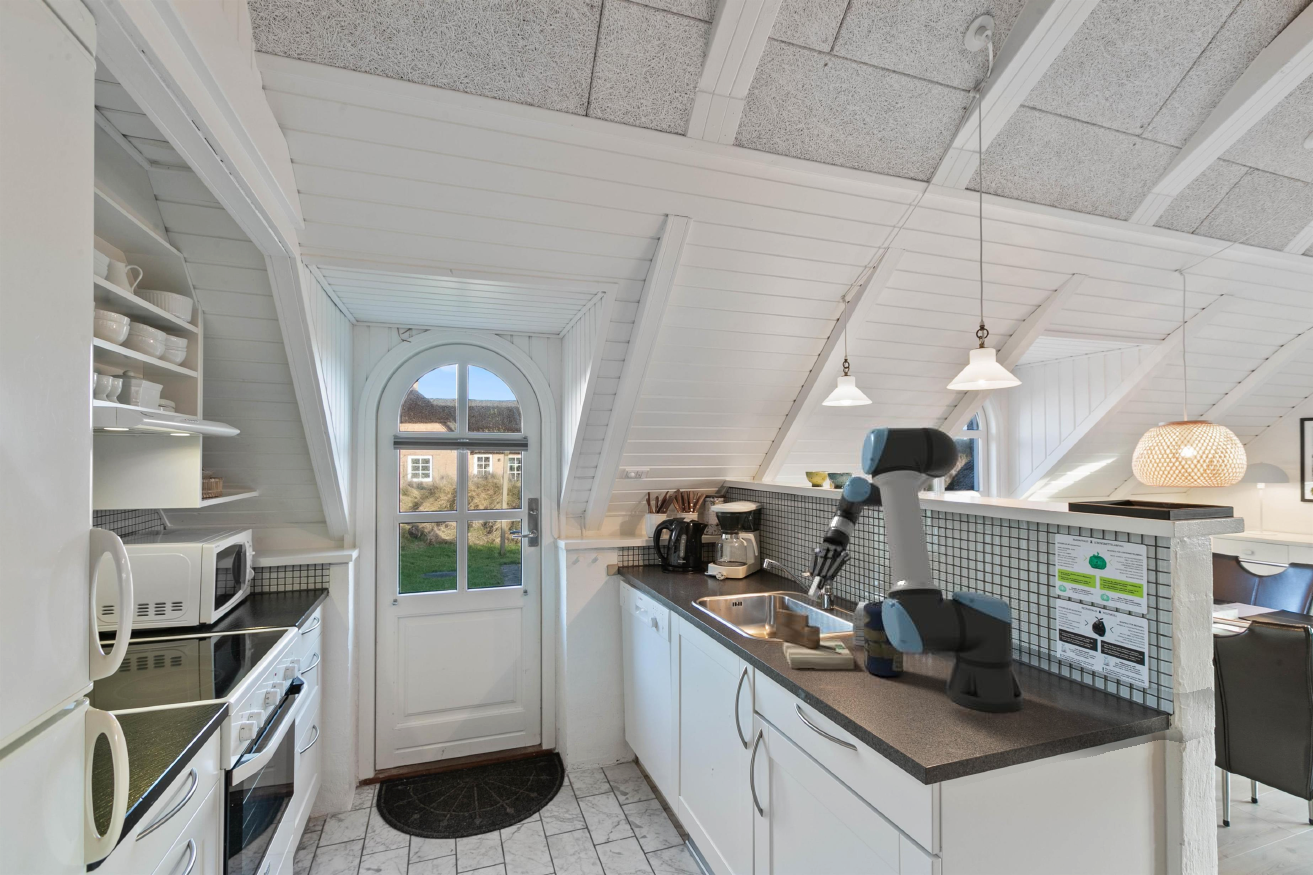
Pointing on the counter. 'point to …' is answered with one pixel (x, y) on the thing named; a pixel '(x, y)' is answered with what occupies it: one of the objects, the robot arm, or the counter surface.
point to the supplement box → (858, 624)
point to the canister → (879, 644)
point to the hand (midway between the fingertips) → (812, 597)
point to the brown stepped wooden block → (798, 629)
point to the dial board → (819, 655)
